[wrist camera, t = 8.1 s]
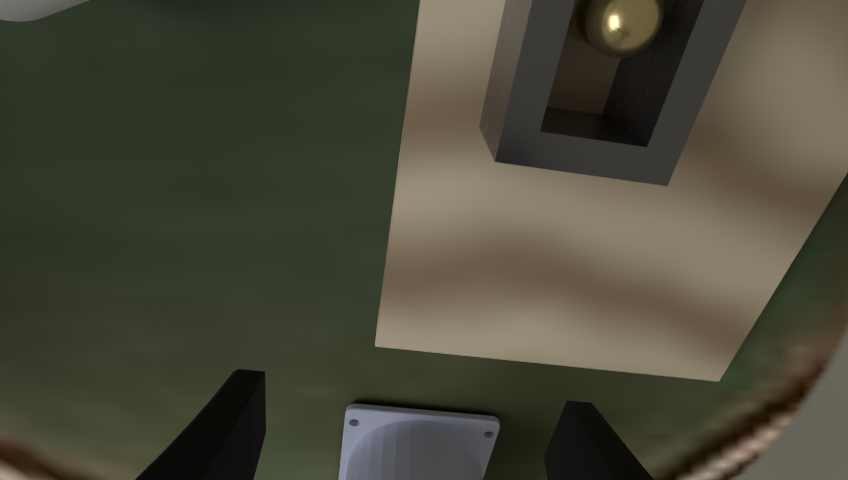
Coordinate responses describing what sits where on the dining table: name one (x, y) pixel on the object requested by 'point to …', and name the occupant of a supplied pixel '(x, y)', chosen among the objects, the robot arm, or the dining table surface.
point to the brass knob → (616, 25)
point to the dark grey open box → (627, 101)
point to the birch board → (611, 203)
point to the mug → (33, 8)
